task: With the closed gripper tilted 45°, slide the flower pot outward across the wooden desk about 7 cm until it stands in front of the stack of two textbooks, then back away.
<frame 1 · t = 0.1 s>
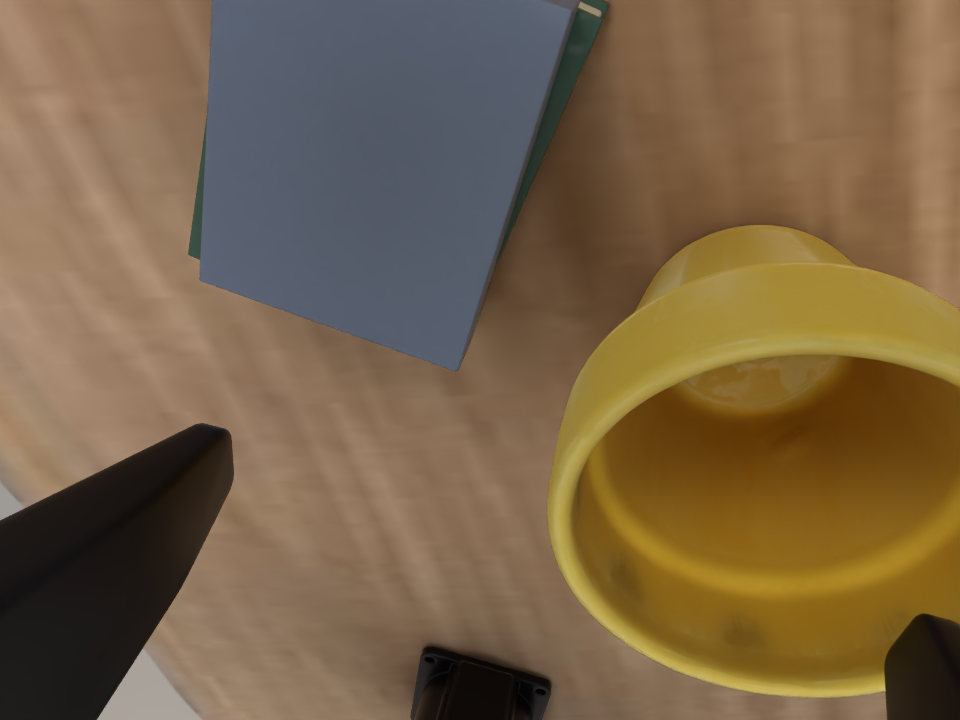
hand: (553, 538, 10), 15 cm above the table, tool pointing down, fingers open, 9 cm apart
books: (393, 127, 22), on the table
flower pot: (750, 314, 23), on the table
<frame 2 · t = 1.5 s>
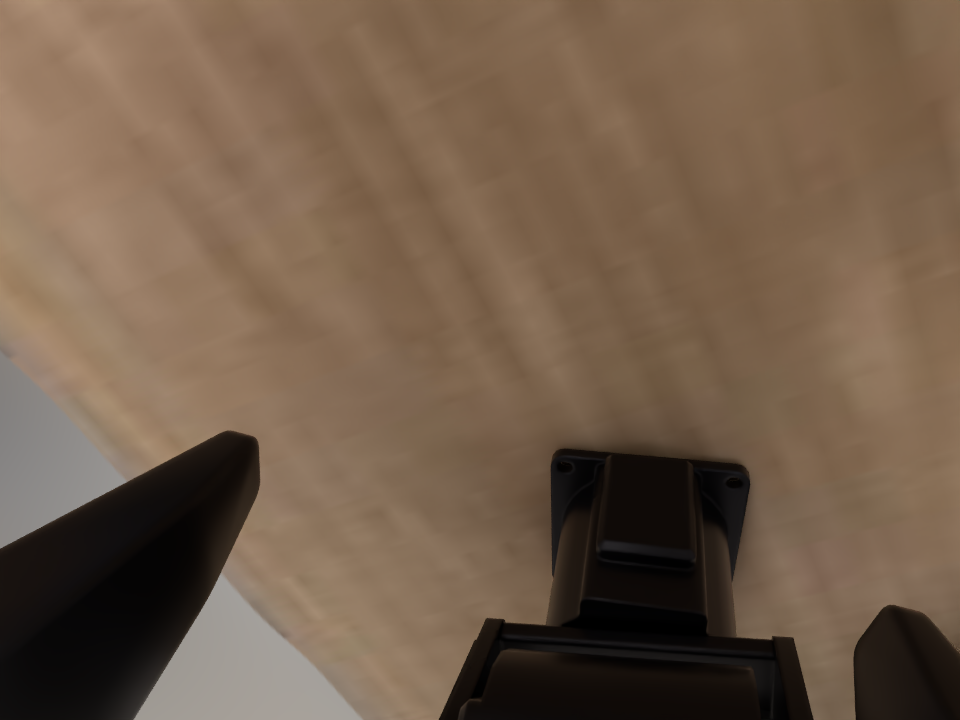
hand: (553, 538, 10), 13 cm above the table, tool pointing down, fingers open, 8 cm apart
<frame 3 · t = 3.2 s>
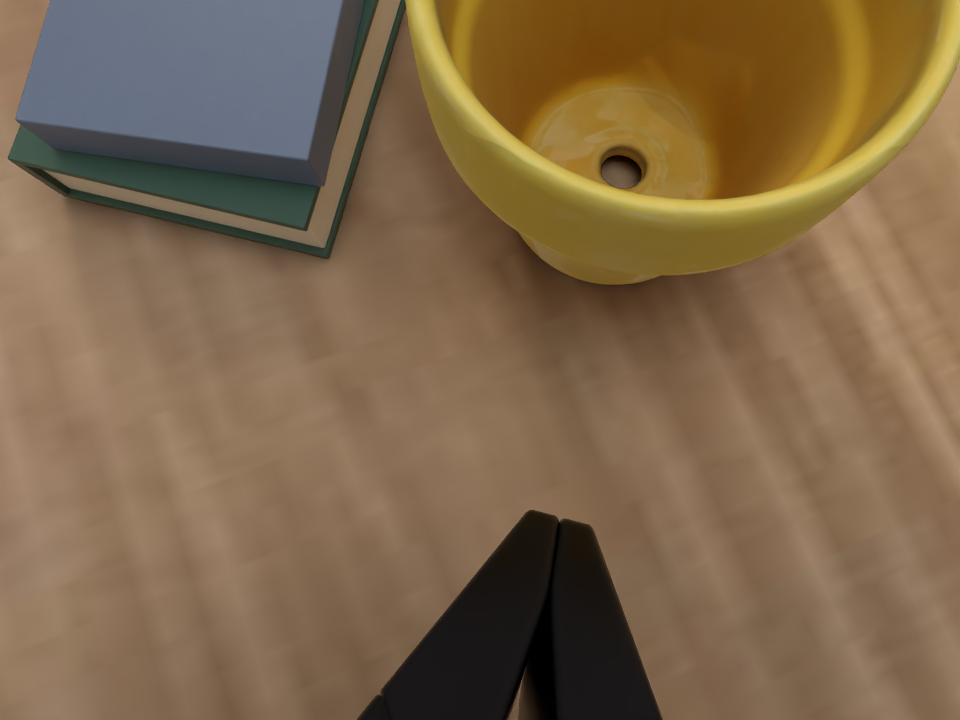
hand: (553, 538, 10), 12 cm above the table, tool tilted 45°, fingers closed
books: (246, 72, 24), on the table
flower pot: (613, 183, 23), on the table
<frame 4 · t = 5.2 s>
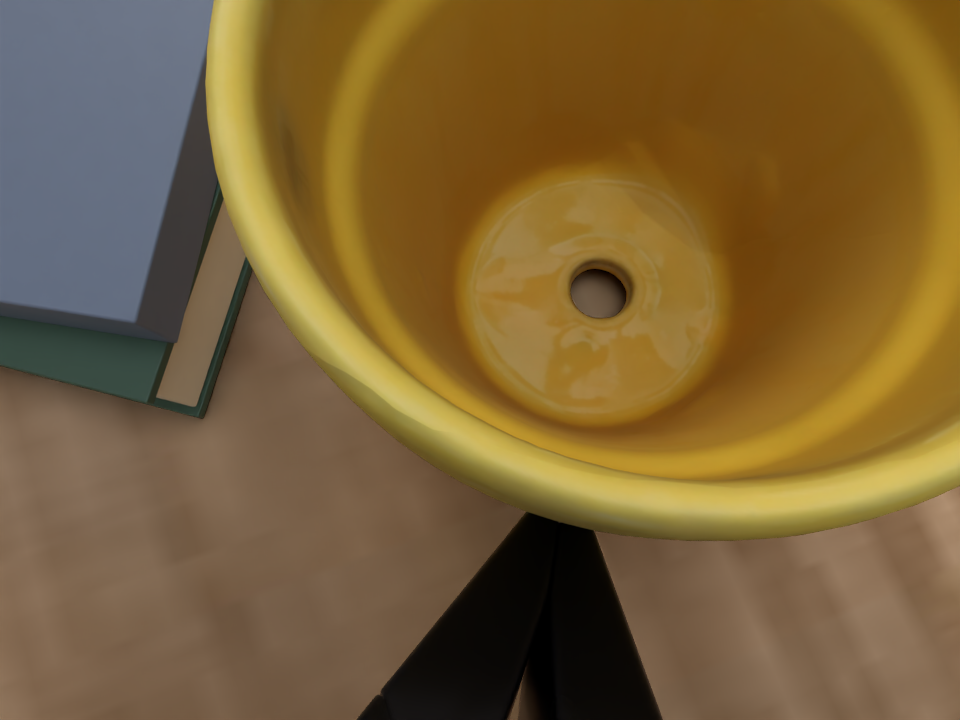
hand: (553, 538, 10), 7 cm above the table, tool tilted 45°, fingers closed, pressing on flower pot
books: (105, 162, 18), on the table
flower pot: (589, 303, 17), on the table, touching gripper
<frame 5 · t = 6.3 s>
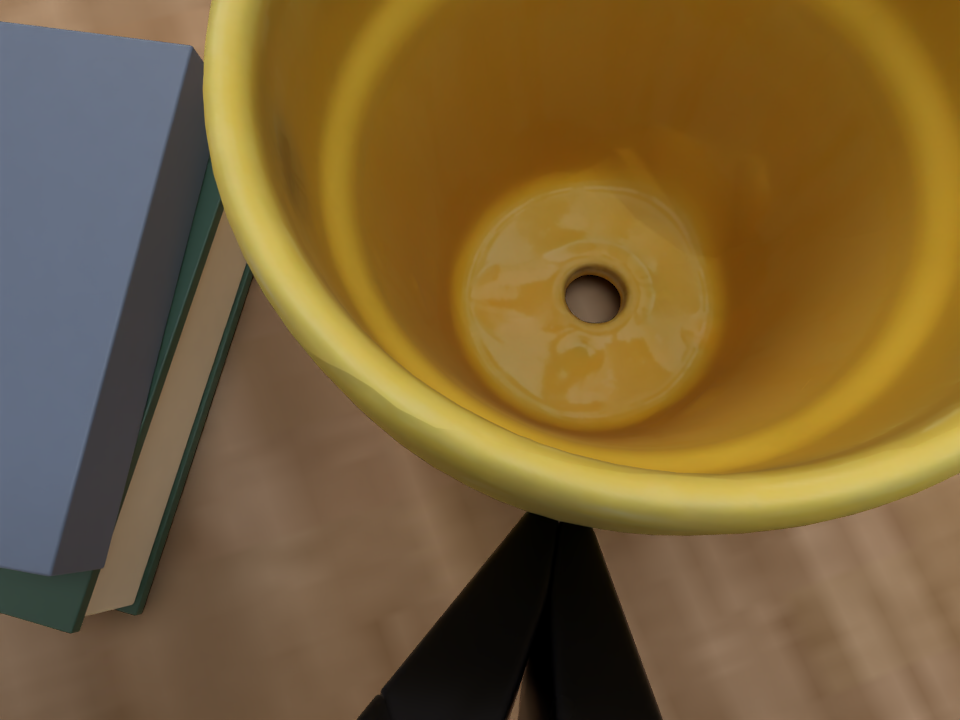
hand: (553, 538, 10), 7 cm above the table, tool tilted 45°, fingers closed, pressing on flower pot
books: (45, 332, 18), on the table
flower pot: (584, 309, 17), on the table, touching gripper
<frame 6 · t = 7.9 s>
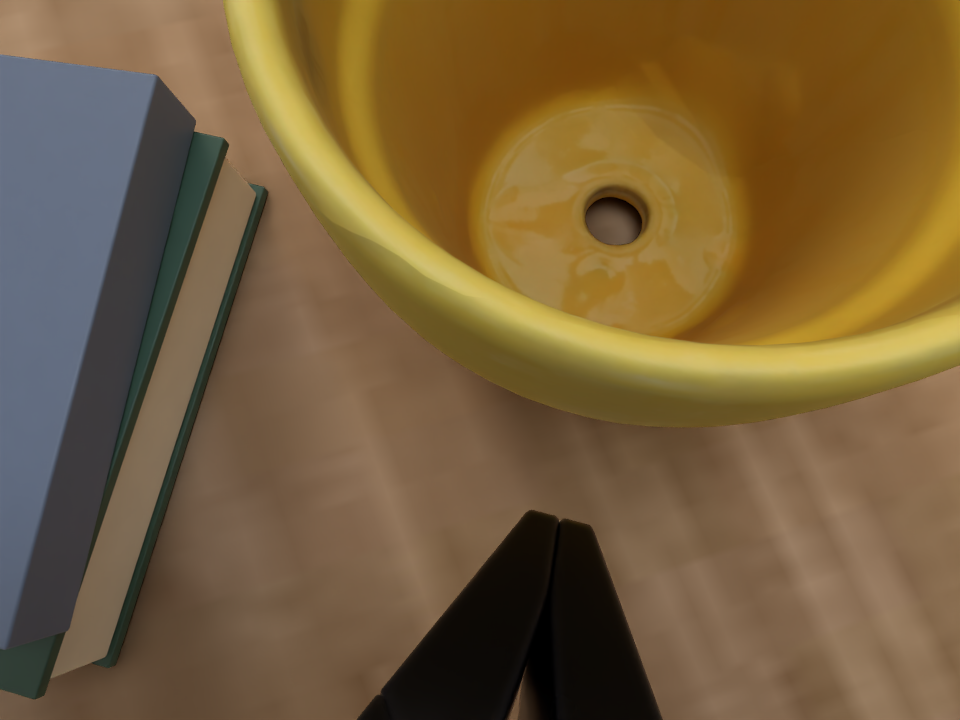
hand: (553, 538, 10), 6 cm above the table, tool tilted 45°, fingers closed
books: (14, 368, 17), on the table
flower pot: (603, 234, 17), on the table
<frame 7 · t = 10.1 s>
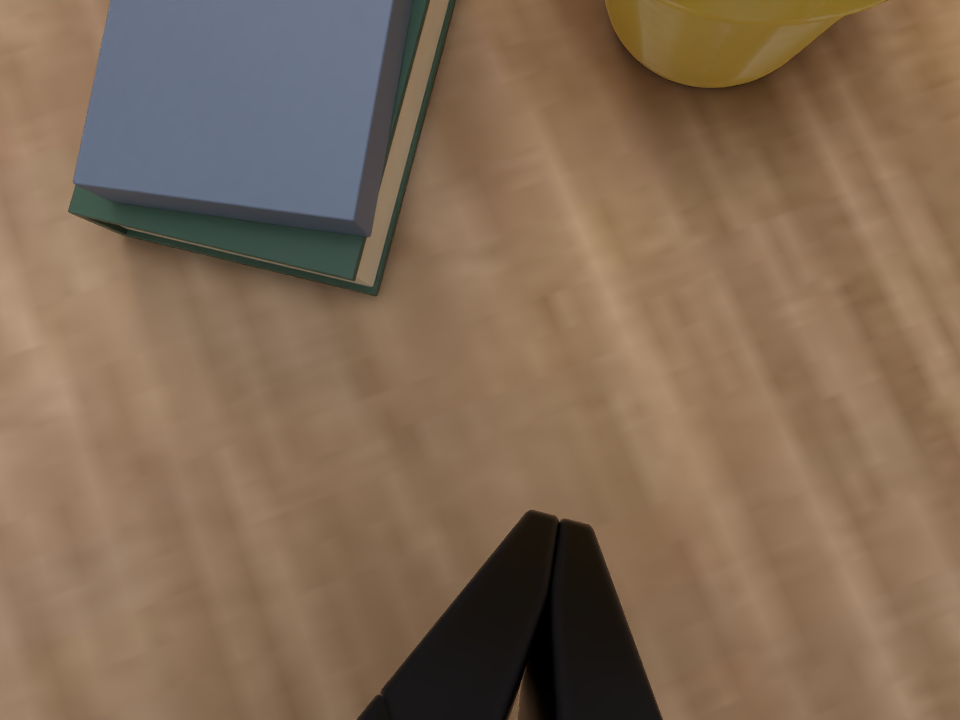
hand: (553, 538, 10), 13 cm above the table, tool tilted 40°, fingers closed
books: (290, 103, 24), on the table
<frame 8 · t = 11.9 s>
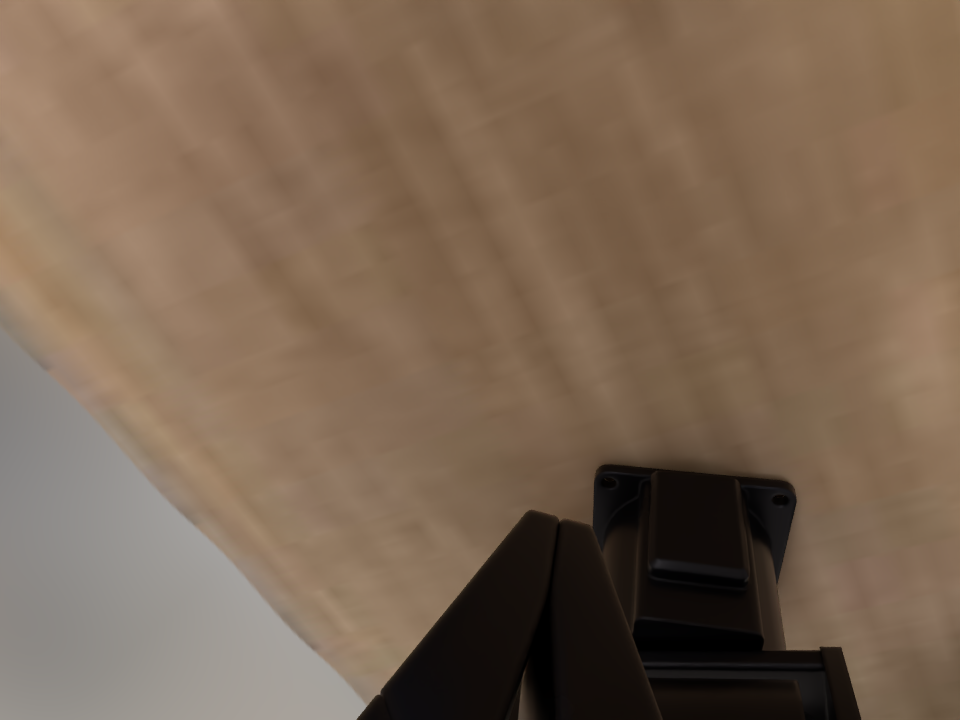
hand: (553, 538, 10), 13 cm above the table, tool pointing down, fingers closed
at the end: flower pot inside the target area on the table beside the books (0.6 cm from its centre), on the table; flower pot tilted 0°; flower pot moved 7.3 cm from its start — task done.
